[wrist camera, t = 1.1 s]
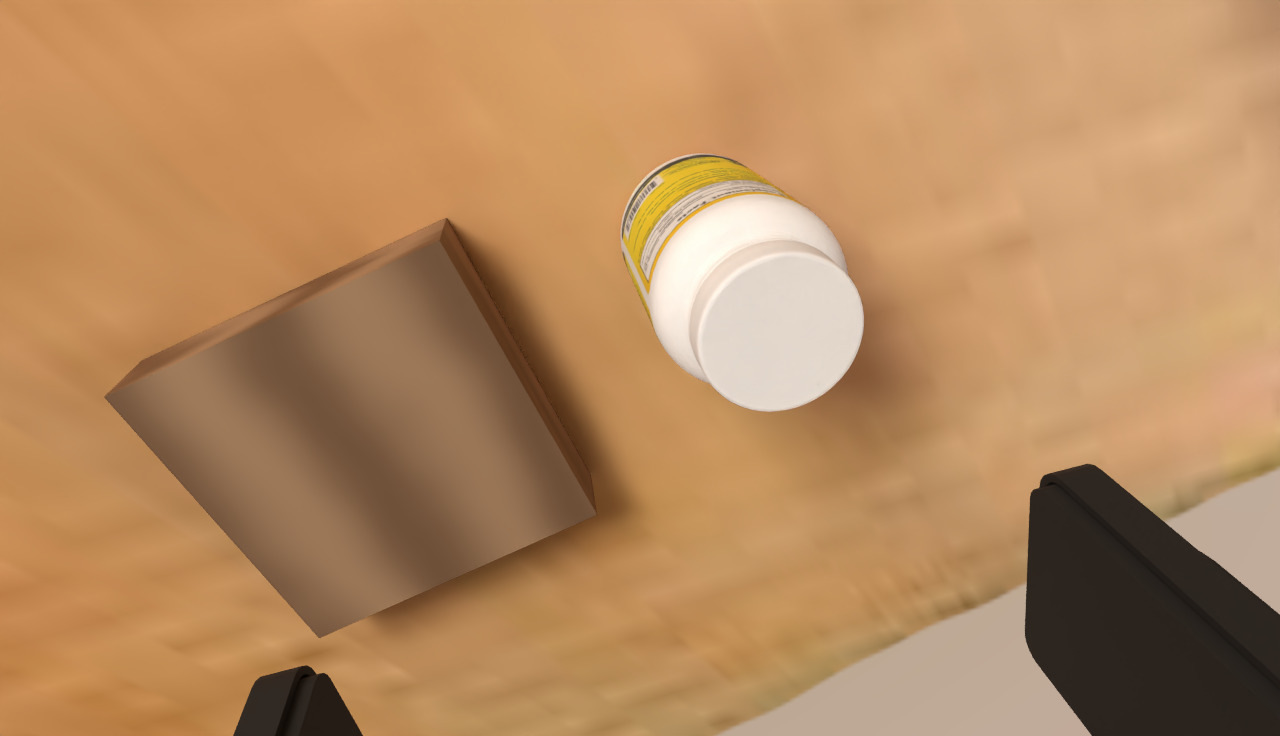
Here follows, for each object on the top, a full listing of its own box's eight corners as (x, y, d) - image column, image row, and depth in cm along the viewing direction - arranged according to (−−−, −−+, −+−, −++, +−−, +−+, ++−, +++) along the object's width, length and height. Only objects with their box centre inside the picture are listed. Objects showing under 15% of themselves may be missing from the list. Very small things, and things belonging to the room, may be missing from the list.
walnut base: (446, 217, 29) (439, 240, 26) (590, 475, 35) (597, 514, 32) (141, 360, 29) (104, 397, 27) (333, 589, 35) (319, 638, 33)
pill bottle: (769, 294, 32) (882, 425, 22) (623, 309, 31) (673, 451, 22) (773, 142, 29) (904, 214, 20) (613, 155, 29) (665, 236, 19)
